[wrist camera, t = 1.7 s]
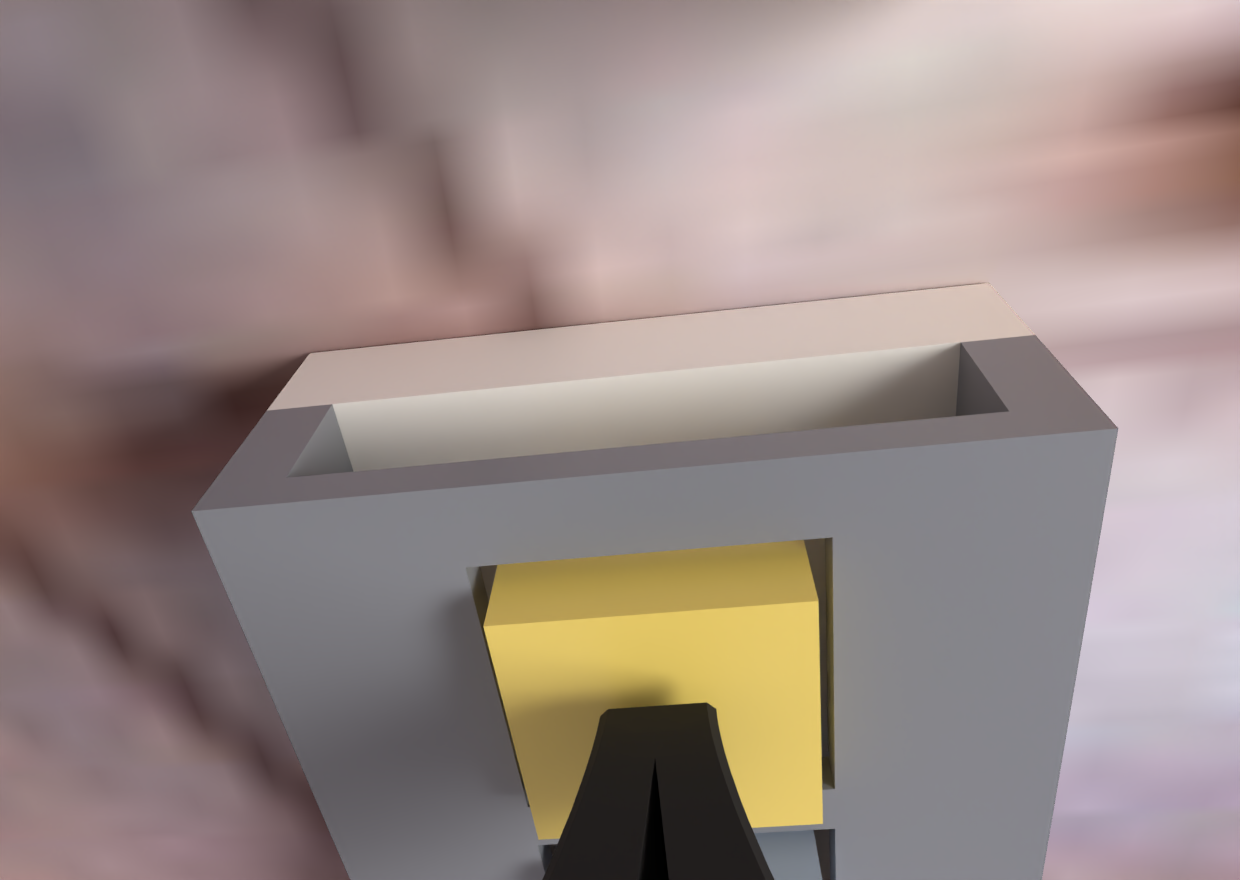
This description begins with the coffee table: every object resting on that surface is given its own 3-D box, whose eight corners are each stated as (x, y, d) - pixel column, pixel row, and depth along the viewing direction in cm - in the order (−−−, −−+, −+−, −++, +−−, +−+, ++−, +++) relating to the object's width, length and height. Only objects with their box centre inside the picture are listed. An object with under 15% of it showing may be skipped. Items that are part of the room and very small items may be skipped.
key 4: (804, 724, 14) (822, 824, 13) (550, 740, 15) (538, 839, 13) (797, 512, 12) (818, 600, 11) (503, 537, 13) (483, 626, 11)
